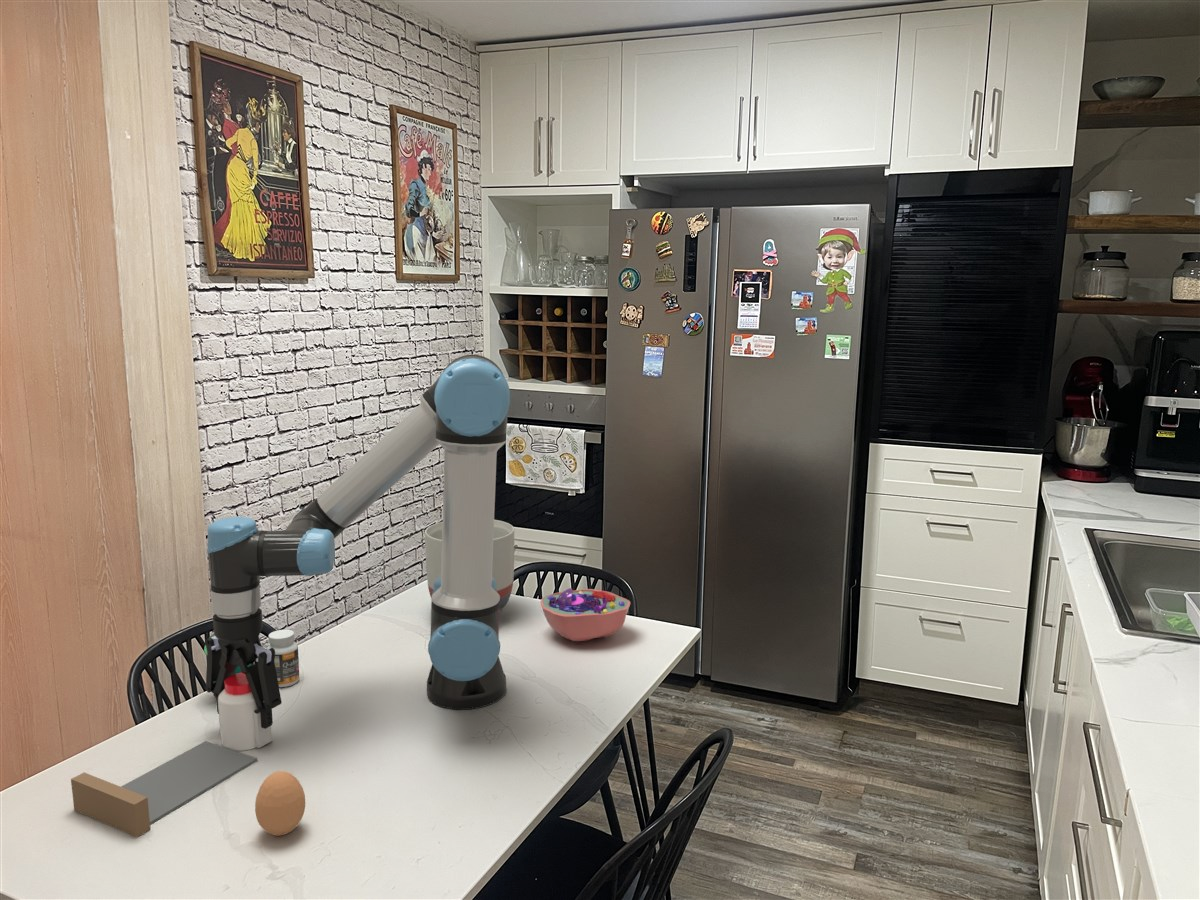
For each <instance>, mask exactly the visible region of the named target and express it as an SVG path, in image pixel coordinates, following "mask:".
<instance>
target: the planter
mask: <svg viewBox="0 0 1200 900" xmlns="http://www.w3.org/2000/svg"><path fill="white" fill-rule="evenodd" d="M442 527H443V521H441V522H436V523H434V524H432V525H429V526H428V527H426V529H425V531H424V541H425V542H424V544H425V546H424V547H425V549H424V550H425V565H426V567H425V569H426V581H427V587H428V593H429V596H430V600H432V594H433V593H432V591H433V586H434V582H435V580H436V579H437V578H439V577H441V564H442ZM514 527H515V526H513V525H512V524H510V523H509V522H506V521H503V520H498V519H494V536H493V562H492V577H493V578H494V579H495V582H496V588H497V593H498V594H499V595H500V610H499V612H501V611H502V610H503V609H504V607H506V605H507V603H508V602H509V600H510V597H511V595H512V590H513V587H514V575H515V573H514V572H515V528H514Z"/></svg>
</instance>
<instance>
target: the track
mask: <svg viewBox="0 0 1200 900" xmlns="http://www.w3.org/2000/svg"><path fill="white" fill-rule="evenodd" d="M256 762H258V758H257V757H256V756H255V757H254V756H252V755H250V754H245V753H243V752H241V751H234V750H231V749H229V748H226V747H223V746H222V745H219V744H216V743H213V742H210V741H207V740H204V741H202V742H201V743H199V744H197V745H195V746H194V747H191V748H190V749H188V750H186V751H183V753H180V754H179V755H177V756H175V757H173V758H172V759H169V760H167V761H166V762H164V763H162V764H160V765H158V766H157V767H155V768H153V769H151V770H148V771H147V772H146V773H144V774H142V775H139V776H138V777H136V778H134V779H132V780H131V781H128V782H127V783H125V784H123V785H121V786H119V785H117V784H116V783H112V782H110V781H107V780H106V779H105V780H104V779H103V778H99V777H97V776H94V775H92V774H90V773H87V772H82V773H80V774H78V775H76V776H74V777H72V778H70V783H71V791H72V792H71V793H72V800H73V801H72V803H73V809H74V811H75V812H77V813H81V814H83V815H84V816H87V817H90V818H91V819H93V820H97V821H99V822H101V823H104V824H105V825H107V826H111V827H113V828H115V829H117V830H120V831H122V832H124V833H127V834H129V835H132V836H133V837H137V838H139V837H140V836H142V835H144V834H146V832H149V831H150V830H151V825H153V824H155V823H156V822H157V821H159V820H160V819H162V818H164V817H166V816H167V815H168V814H169V815H170V813H172V812H174V811H176V810H177V809H179V808H181V807H182V806H185V804H187V803H189V802H191V801H192V800H194V799H195V798H198V797H199V796H200V795H203V794H204V793H205V792H207V791H209V790H210V789H212V788H214V787H215V786H217V785H219V784H221V783H222V782H224V781H226V780H227V779H229V778H230V777H233V776H234V775H235V774H237V773H239V772H241V771H243V770H244V769H246V768H248V767H249V766H251V765H252V764H254V763H256Z"/></svg>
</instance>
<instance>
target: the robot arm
mask: <svg viewBox="0 0 1200 900" xmlns="http://www.w3.org/2000/svg"><path fill="white" fill-rule="evenodd" d="M510 390H511V389H510V387H509V383H508V381H507V379H506V377H505V375H504V372H503V371H502V369H501V368H500V367H499V366H498V365H497V363H495V362H494V361H493V360H491V359H489V358H487V357H485V356H484V355H479V354H466V355H461V356H459V357H457V358H455V359H453V360H452V361H451V362H450V363H449V364H447V365H446V367H445V368H444V369H443V371H442V372H441V373H440V375H439V376H438V378H437V379H436V380H435V381H434V383H432V385H431V386H429V387H428V389H426V390H425V391H424V392H423V393H421V395H420V404H419V405H418V406H416V407H415V408H414V409H412V411H411V412H410V413H409V414H407V416H406V417H404V418H403V419H402V420H401V421H400V422H398V423H397V425H395V426H394V427H393V428H392V429H391V430H390V431H389V432H388V433H387V434H385V436H383V437H382V438H381V439H380V440H379V441H378V442H377V443H376V444H374V445H373V446H372V447H371V448H370V449H369V450H368V451H367V452H365V453H364V454H363V455H362V456H361V457H360V458H359V459H357V461H356V462H354V463H353V464H352V465H351V466H350V467H349V468H348V469H346V471H344V472H343V473H342V474H341V475H340V476H339V477H338V478H337V479H336V480H334V482H332V483H331V484H330V485H329V486H328V487H327V488H326V489H325V490H324V491H322V492H321V493H320V494H319V495H318V496H317V498H315V499H314V500H313V501H311V503H309V504H308V505H307V506H306V507H304V508H302V509H300V510H299V511H298V512H297V513H296V514H295V516H293V517H292V519H291V522H290V524H289V525H288V526H287V527H286V528H285V529H280V530H258V529H259V528H258V526H257V522H256V520H255V519H253V518H252V517H249V516H248V517H243V516H231V517H230V516H229V517H223V518H220V519H217V520H214V521H213V522H212V523H210V524H209V525H208V528H207V549H206V553H207V558H208V569H209V570H208V571H209V579H210V582H209V583H210V599H211V601H210V602H211V612H212V613H213V616H212V623H213V624H212V625H213V634H214V635H215V636H214V637H211V638H209V637H208V638H207V639H205V640H204V644H205V645H206V648H207V655H206V675H205V691H206V692H207V693H209V694H210V693H212V695H213V697H214V698H215V700H216V712H217V714H218V715H219V704H218V696H219V694H220V693H221V692H222V691H223V690H224V689H225V684H224V681H225V679H226V678H228V677H229V676H231V675H234V674H235V671H236V667H237V665H238V666H239V667H240V669H241V672H242V673H243V674H245V675H246V678H247V681H248V684H249V687H250V689H251V692H252V695H253V698H254V700H255V703H256V706H257V709H256V710H254V723H255V738H256V748H258V749H260V748H262V747H264V746H265V745H268V744H269V743H270V742H272V741H273V737H272V736H273V734H272V726H273V723H274V722H273V709H274V708H276V707H278V706H281V704H282V697H281V692H280V691H281V690H280V687H279V684H278V679H277V673H276V668H275V662H274V660H275V650H274V649H273V648H270V649H268V650H267V648H265V647H263V646H262V643H261V641H260V635H261V632H262V631H263V627H264V626H263V610H262V609H261V606H262V599H261V597H262V596H261V584H260V583H261V582H260V581H261V580H260V579H261V578H260V577H285V576H286V577H288V576H289V577H291V576H306V577H311V576H315V575H323V574H324V575H325V574H329V573H330V572H332V570H333V568H334V564H335V561H336V560H335V558H336V543H335V539H336V538H337V537H338V536H339V535H341V533H343V532H344V531H345V530H346V529H347V528H348V527H349V526H351V524H352V523H353V522H354V521H356V519H358V518H359V517H360V516H361V515H362V514H363V513H365V512H366V511H367V510H368V508H369V509H370V507H371V506H372V505H373V504H375V502H376V501H378V500H379V499H380V498H382V496H383V495H384V494H385V493H387V492H388V491H389V490H390V489H391V488H392V487H394V485H396V484H397V483H398V482H399V481H400V480H401V479H402V478H404V476H406V475H407V474H408V473H409V472H410V471H412V469H414V467H416V466H417V465H418V464H419V463H420V462H421V461H422V460H423V459H425V458H426V457H427V456H428V455H429V454H431V452H432V451H433V450H434V449H436V448H438V446H439V445H440V446H441V447H442V449H443V450H444V459H443V462H444V463H443V465H444V466H443V491H442V492H443V493H442V494H443V495H442V496H443V497H442V498H443V499H442V502H443V503H442V504H443V505H442V522H443V527H442V564H441V577H439V578H437V579H436V580H435V582H434V586H433V591H432V593H433V594H432V599H431V603H430V604H431V605H430V606H431V607H430V610H431V611H430V634H429V635H430V639H429V641H428V645H427V651H428V656H429V659H430V662H431V667H430V670H429V673H428V676H427V679H426V696H427V699H428V700H429V701H430V702H431V703H432V704H435V705H436V706H439V707H442V708H446V709H453V710H468V709H469V710H472V709H477V708H482V707H486V706H488V705H491V704H493V703H496V702H498V701H499V700H501V699H502V698H503V697H504V696H505V695H506V693H507V677H506V674H505V672H504V668H503V666H502V663H501V660H500V657H499V655H500V652H501V642H500V636H499V633H500V611H499V610H500V595H499V594H498V593H497V588H496V582H495V579H494V578H493V577H492V562H493V536H494V520H495V510H496V508H495V505H496V504H495V503H496V481H497V477H496V476H497V455H498V453H497V452H498V450H500V448H502V447H503V446H504V445H505V444H506V443H507V434H508V433H507V432H508V413H509V408H510V405H511V391H510ZM250 664H252V665H251V666H249V667H248V666H247V665H250ZM214 681H215V683H214ZM263 701H264V702H263ZM218 721H219V724H220V717H219V716H218ZM219 733H220V734H219V735H220V736H221V730H220V729H219Z"/></svg>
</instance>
